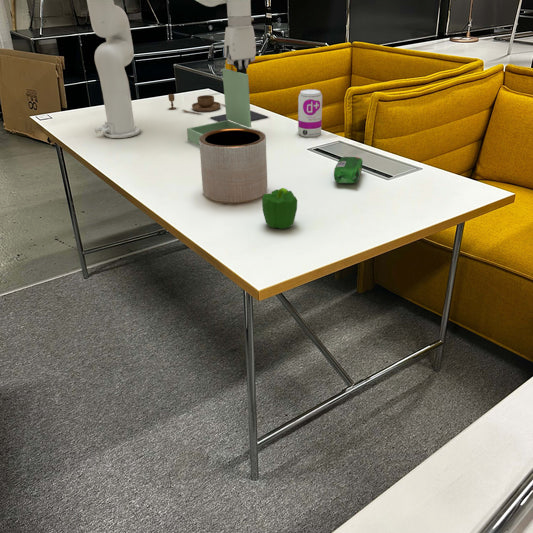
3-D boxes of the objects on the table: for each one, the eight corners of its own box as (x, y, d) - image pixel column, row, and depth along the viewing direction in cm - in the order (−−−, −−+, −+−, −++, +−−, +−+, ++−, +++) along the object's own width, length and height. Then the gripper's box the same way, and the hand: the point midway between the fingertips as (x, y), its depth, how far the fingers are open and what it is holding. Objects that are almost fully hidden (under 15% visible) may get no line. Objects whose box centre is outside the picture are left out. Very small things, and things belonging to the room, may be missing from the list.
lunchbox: (209, 152, 184) (208, 138, 182) (188, 142, 194) (186, 128, 192) (250, 142, 192) (250, 128, 190) (228, 133, 203) (227, 120, 200)
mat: (229, 125, 211) (229, 124, 211) (210, 118, 221) (210, 117, 221) (267, 117, 220) (267, 116, 220) (247, 110, 230) (247, 109, 230)
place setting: (204, 115, 225) (202, 100, 222) (167, 109, 235) (165, 95, 232) (229, 106, 238) (229, 91, 235) (193, 100, 247) (192, 87, 244)
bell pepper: (259, 220, 137) (258, 181, 132) (291, 216, 139) (291, 178, 134) (267, 234, 130) (266, 194, 125) (300, 230, 132) (301, 191, 127)
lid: (246, 75, 181) (248, 74, 181) (222, 68, 191) (224, 68, 191) (249, 127, 190) (251, 127, 190) (226, 119, 200) (228, 118, 200)
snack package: (330, 188, 155) (331, 170, 152) (339, 169, 168) (340, 152, 165) (356, 190, 153) (357, 172, 150) (363, 170, 166) (364, 154, 163)
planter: (244, 210, 142) (241, 151, 135) (189, 197, 151) (184, 140, 143) (279, 188, 155) (279, 132, 148) (227, 177, 164) (224, 124, 156)
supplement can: (321, 137, 196) (323, 94, 188) (298, 137, 196) (298, 94, 188) (320, 131, 203) (321, 88, 195) (297, 131, 203) (298, 89, 195)
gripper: (251, 19, 186) (253, 76, 195) (213, 23, 179) (217, 82, 188) (265, 20, 181) (266, 79, 190) (226, 25, 173) (229, 85, 183)
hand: (242, 80), depth 189 cm, fingers closed
